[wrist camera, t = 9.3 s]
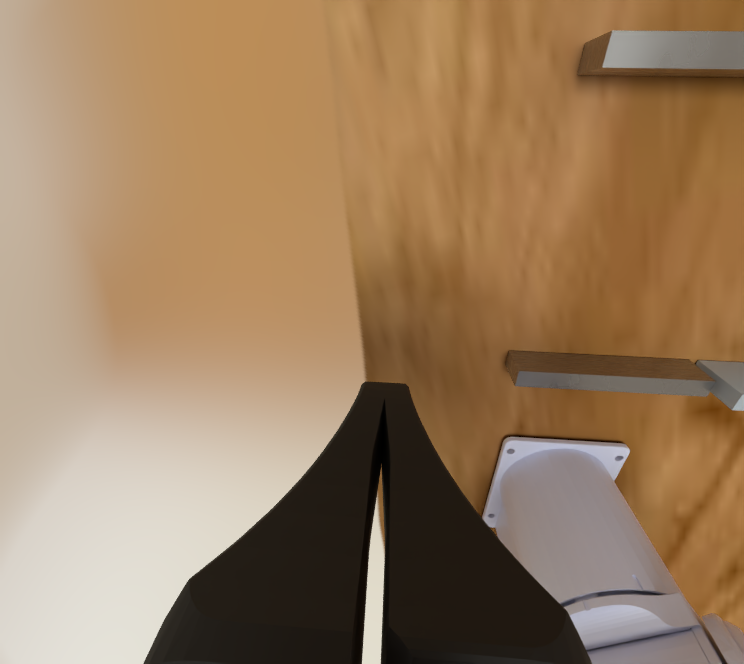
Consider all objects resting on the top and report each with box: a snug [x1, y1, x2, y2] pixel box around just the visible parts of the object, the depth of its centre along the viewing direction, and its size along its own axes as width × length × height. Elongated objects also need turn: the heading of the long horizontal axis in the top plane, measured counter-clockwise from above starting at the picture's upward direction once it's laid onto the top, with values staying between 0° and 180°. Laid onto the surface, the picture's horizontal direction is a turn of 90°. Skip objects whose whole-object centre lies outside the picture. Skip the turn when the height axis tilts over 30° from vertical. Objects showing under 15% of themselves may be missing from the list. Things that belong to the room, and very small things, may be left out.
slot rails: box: [506, 31, 744, 397], centre depth 16 cm, size 15×10×2 cm, turn 179°
